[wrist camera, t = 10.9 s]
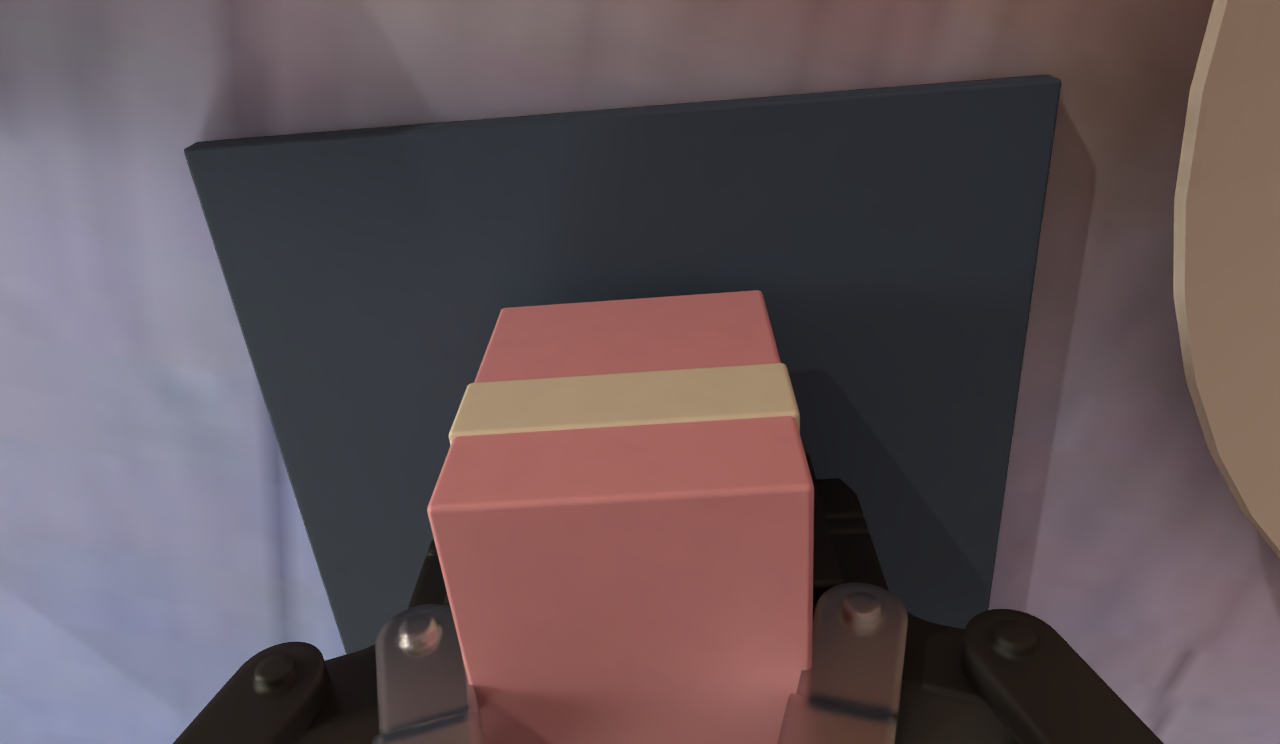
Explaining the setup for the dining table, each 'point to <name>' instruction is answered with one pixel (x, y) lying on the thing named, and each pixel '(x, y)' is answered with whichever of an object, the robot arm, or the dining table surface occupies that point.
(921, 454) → the mat
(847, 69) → the dining table surface
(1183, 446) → the dining table surface
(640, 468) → the block
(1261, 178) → the plate
